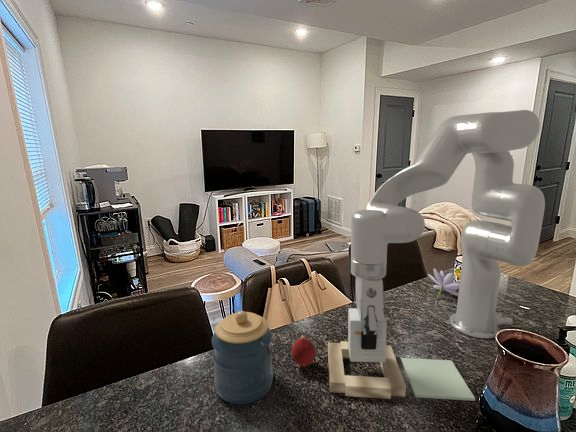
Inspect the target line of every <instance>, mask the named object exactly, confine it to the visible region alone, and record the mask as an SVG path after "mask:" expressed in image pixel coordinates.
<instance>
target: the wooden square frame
mask: <svg viewBox="0 0 576 432" xmlns="http://www.w3.org/2000/svg"><path fill="white" fill-rule="evenodd" d="M327 356H328V358H327V359H328V362H327V363H328V375H329V376H328V377H329V381H328V382H329V393H338V394H344V396H345V397H352V398H353V397H355V398H356V397H357V398H371V399H386V400H391V399H392V398H391V397H398V398H406V392H407V391H406V390H407V386H406V385H407V384H406V383H405V380H404V378H403V377H404V376H403V374H402V372H401V370H400V366H399V364H398V361H397V359H396V358H397V357H396V356H395V354H394V350H393V348H392V345H391V344H390V345H388V344H386V362H379V363H380V366H381V372H382V374H383V377H382V376H381V377H379V376H363V375H347V374H345V368H344V361H343V360H344V359H350V356H349V348H348V340H347V341H345V340H344V341H343V340H342V341H341V340H340V342H329V341H328V342H327Z"/></svg>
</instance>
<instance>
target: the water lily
mask: <svg viewBox="0 0 576 432" xmlns="http://www.w3.org/2000/svg"><path fill="white" fill-rule="evenodd" d="M433 274H434V276H432V275H431V274H429V273H427V276H428V277H429V278H430V279H431V280H432V281H433V282H434V283H435V284H434V285H433V289H435V290H439V292H438V294H437V296H436V299H438V300H439V298H440V296H441V293H442V292H443V289H444V290H445V291H446V292H448V293H450V294H451V295H453V296H454V297H458V294H459V292H458V291H457V290H459V285H460V280H459V281H457V280H455V281H453V280H454V278H455V274H454V273H452V272H449V273H447V274H446V275H445V273H444V271H443V270H442V269H441V270H440V272H439V271H438V270H437V269H436V268H433Z"/></svg>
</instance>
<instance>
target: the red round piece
mask: <svg viewBox="0 0 576 432" xmlns="http://www.w3.org/2000/svg"><path fill="white" fill-rule="evenodd" d="M316 351H317V350H316V347H315V345H314V344H313V342H312V341H311V340H310V339H308V338H306V337H305V336H304V334H303V335H300V338H297V340H295V341H294V343H293V345H292V347H291V351H290V352H291V358H292V359H293V361H294V362H295V363H296V364H297V365H298V366H301V367H307V366H309V365H311V364H313V362H314V360H315V358H316V354H317V352H316Z"/></svg>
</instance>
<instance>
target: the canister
mask: <svg viewBox="0 0 576 432" xmlns="http://www.w3.org/2000/svg"><path fill="white" fill-rule="evenodd" d="M214 328H215V330H214V333H213V335H212V337H211V345H212V347H213V350H212V359H213V365H214V366H213V367H214V378H213V379H214V380H213V381H214V386H215V387H214V388H215V390H216V394H217V396H219V397H220V399H222V400H223V401H225V402H227V403H229V404H232V405H233V404H234V405H248V404H251V403H252V404H253V403H254V402H257V401H258V400H259V401H260V399H262V398H264V397H265V396H266V395H267V394H268V392H270V390H271V388H272V383H273V381H274V379H273V378H274V371H273V345H272V343H271V342H272V339H273V332H272V330H271V328H270V327H269V323H268V320H266V318H264V317H263V316H261V315H259V314H257V313H255V312H251V311H244V310H239V311H238V312H235V313H231V314H229V315H227V316H226V317H224V318H223V319H221V320H219V322H218V323H217V324H216V325H215V327H214Z"/></svg>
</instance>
